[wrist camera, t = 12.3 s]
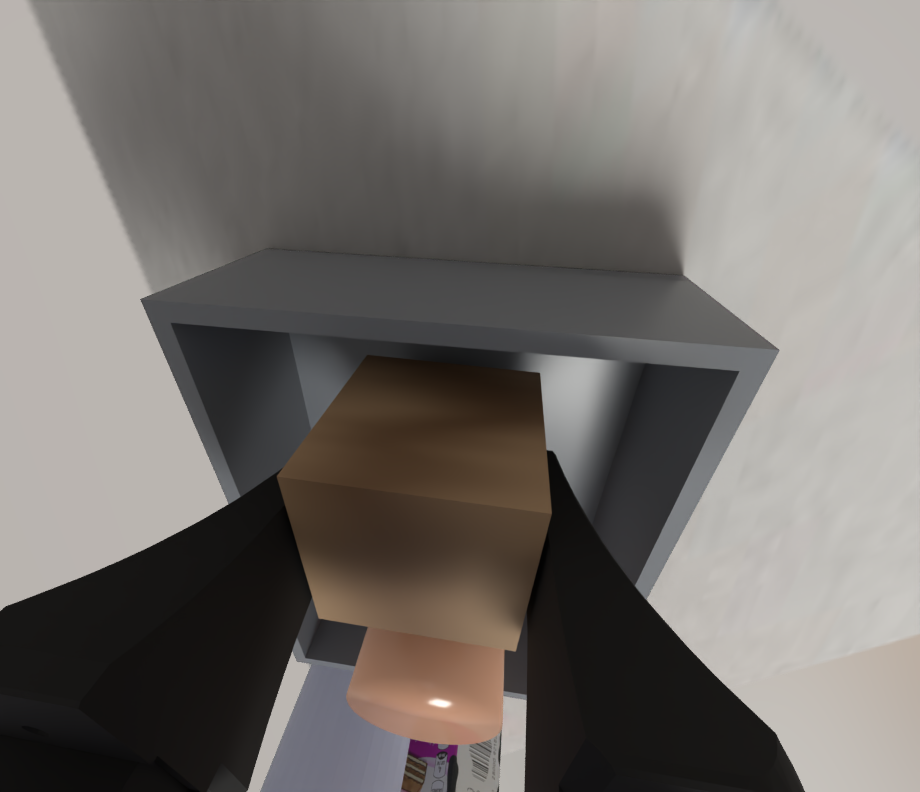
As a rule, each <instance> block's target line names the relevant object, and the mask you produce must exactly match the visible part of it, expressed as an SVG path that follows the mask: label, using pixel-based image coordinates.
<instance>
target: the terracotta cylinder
mask: <svg viewBox="0 0 920 792" xmlns="http://www.w3.org/2000/svg"><path fill="white" fill-rule="evenodd" d="M504 655H505V650H504V649H498V648H492V647H486V646H480V645H474V644H468V643H462V642H456V641H450V640H444V639H438V638H432V637H426V636H420V635H414V634H408V633H402V632H396V631H390V630H384V629H378V628H372V627H368V628H367V631H366V634H365V637H364V641H363V644H362V647H361V650H360V653H359V656H358V659H357V663H356V666H355V669H354V672H353V675H352V678H351V682H350V685H349V688H348V691H347V694H346V699H347V702H348V704H349V706H350V707H351V709H352V710H353V711H354V712H355V713H356V714H357V715H359V716H360V717H361V718H363V719H364V720H366V721H367V722H369V723H371V724H373V725H375V726H377V727H379V728H381V729H383V730H385V731H388V732H391V733H393V734H396V735H399V736H403V737H406V738H410V739H414V740H419V741H424V742H429V743H437V744H447V745H466V744H475V743H481V742H484V741H487V740H490V739H492V738H494V737H495V736H497V735H498V734H499V733H500V731H501V729H502V721H503V688H504Z"/></svg>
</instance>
